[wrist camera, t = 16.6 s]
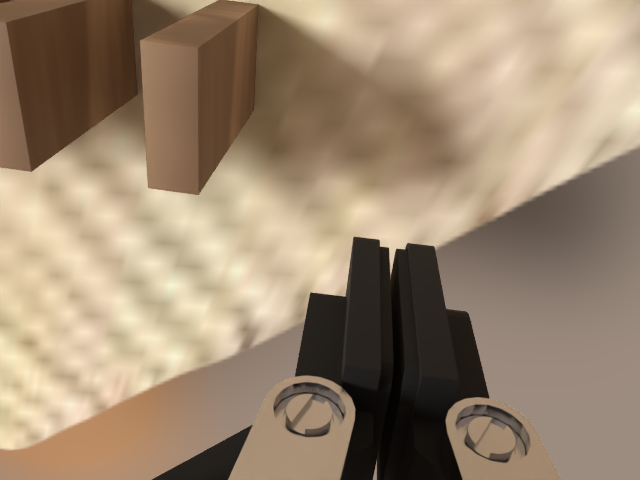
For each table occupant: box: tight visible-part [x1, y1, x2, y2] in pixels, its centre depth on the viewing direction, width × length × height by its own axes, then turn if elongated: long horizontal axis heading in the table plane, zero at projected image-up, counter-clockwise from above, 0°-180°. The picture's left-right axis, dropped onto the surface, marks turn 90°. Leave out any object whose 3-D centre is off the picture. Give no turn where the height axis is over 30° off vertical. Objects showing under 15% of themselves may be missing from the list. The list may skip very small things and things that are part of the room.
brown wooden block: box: [140, 0, 259, 195], centre depth 23 cm, size 2×5×10 cm, turn 174°
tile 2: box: [0, 0, 137, 172], centre depth 23 cm, size 2×5×10 cm, turn 174°
